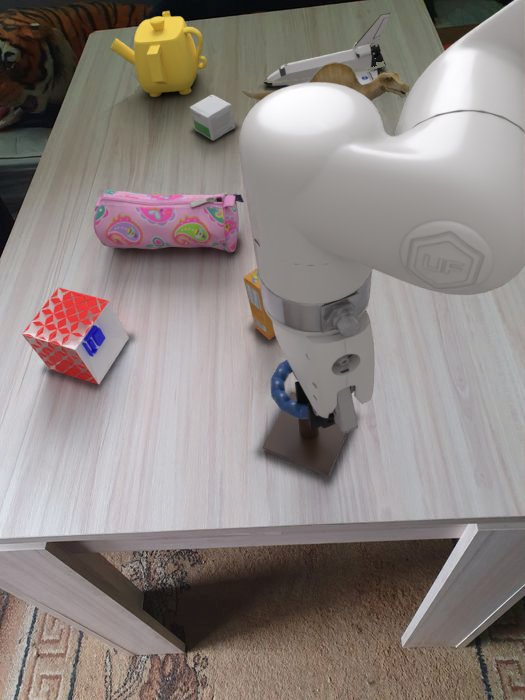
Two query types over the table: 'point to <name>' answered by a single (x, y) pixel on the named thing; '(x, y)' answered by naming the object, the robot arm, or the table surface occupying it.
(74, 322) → the red patterned cube box
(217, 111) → the small box
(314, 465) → the peg
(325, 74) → the dinosaur figurine
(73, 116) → the table surface
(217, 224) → the pencil case
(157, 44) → the teapot
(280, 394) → the ring
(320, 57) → the space shuttle model
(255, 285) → the supplement box
